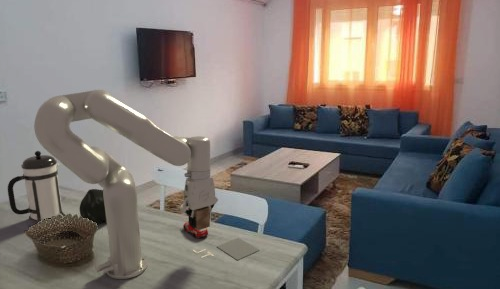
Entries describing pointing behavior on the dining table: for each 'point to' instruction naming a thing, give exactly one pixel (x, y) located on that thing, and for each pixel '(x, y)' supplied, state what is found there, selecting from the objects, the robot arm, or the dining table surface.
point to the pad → (238, 248)
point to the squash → (93, 206)
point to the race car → (195, 231)
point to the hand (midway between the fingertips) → (199, 223)
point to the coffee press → (39, 188)
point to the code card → (204, 255)
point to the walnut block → (202, 218)
